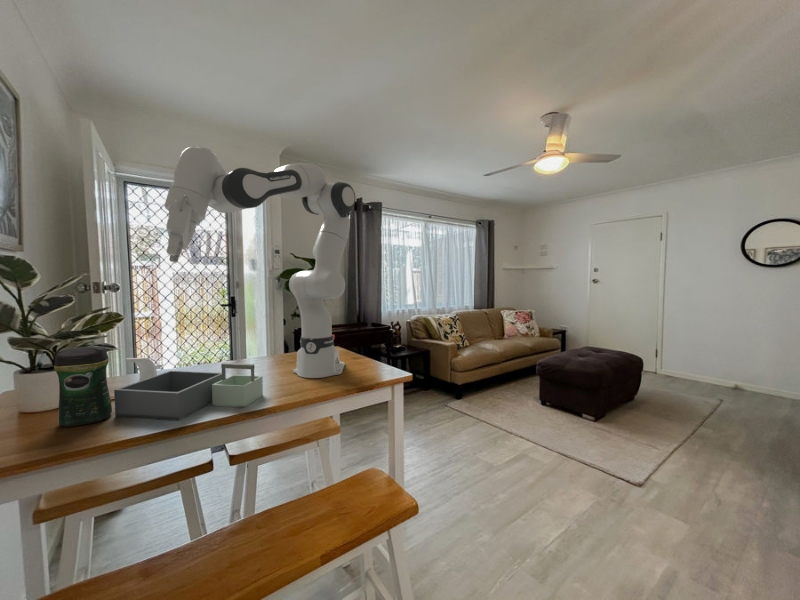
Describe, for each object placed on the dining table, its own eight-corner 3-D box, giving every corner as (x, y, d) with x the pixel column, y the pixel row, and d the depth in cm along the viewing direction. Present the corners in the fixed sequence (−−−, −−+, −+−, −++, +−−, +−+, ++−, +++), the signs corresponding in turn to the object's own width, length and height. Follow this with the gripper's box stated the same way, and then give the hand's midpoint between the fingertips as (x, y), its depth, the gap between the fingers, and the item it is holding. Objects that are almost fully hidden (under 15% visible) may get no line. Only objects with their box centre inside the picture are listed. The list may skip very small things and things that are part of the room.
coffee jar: (115, 411, 89) (112, 342, 88) (105, 422, 82) (101, 348, 81) (67, 417, 85) (63, 345, 84) (52, 430, 78) (47, 352, 77)
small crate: (233, 393, 103) (232, 359, 102) (262, 395, 102) (262, 360, 101) (212, 405, 94) (211, 367, 93) (244, 407, 92) (243, 369, 92)
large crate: (171, 392, 104) (170, 370, 103) (224, 395, 101) (224, 373, 101) (115, 416, 86) (114, 389, 85) (178, 420, 84) (177, 393, 83)
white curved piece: (127, 398, 99) (125, 358, 98) (142, 391, 105) (141, 353, 104) (142, 398, 99) (141, 358, 98) (157, 391, 105) (155, 354, 104)
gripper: (201, 197, 77) (185, 253, 75) (200, 222, 95) (187, 268, 92) (169, 186, 74) (151, 244, 72) (174, 214, 91) (160, 262, 89)
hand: (171, 258), depth 82 cm, fingers open, 8 cm apart
